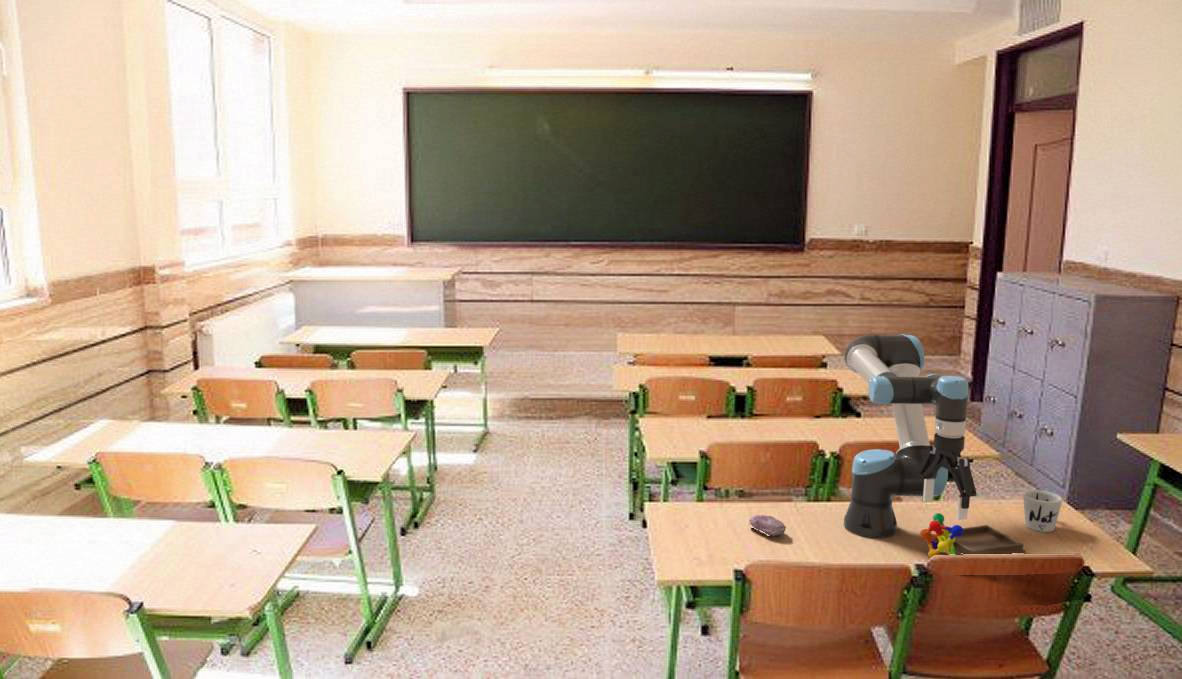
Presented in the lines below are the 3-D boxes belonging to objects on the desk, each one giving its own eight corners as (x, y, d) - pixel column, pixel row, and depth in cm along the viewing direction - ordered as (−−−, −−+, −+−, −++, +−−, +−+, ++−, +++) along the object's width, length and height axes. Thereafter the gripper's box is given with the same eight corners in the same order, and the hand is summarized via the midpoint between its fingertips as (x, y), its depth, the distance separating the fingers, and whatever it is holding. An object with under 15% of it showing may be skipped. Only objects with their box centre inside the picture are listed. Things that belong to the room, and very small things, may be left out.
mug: (1023, 532, 245) (1026, 500, 243) (1014, 513, 259) (1016, 483, 257) (1063, 536, 242) (1066, 503, 240) (1051, 517, 256) (1054, 486, 254)
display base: (934, 538, 241) (935, 530, 240) (983, 531, 245) (984, 523, 245) (973, 561, 225) (974, 553, 225) (1025, 554, 230) (1025, 545, 229)
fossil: (771, 543, 238) (771, 526, 237) (741, 526, 251) (741, 510, 250) (793, 537, 242) (793, 521, 241) (762, 521, 254) (762, 505, 253)
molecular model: (964, 567, 222) (967, 526, 220) (940, 569, 221) (942, 527, 219) (941, 550, 233) (943, 510, 232) (917, 551, 232) (919, 512, 231)
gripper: (907, 423, 232) (903, 495, 235) (970, 448, 208) (964, 528, 212) (930, 421, 234) (926, 493, 237) (995, 446, 210) (989, 525, 214)
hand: (944, 510), depth 225 cm, fingers open, 13 cm apart
